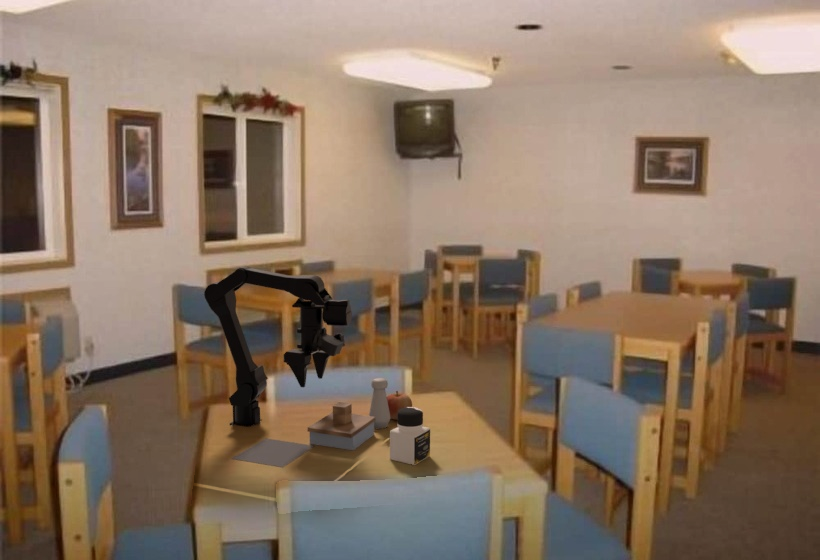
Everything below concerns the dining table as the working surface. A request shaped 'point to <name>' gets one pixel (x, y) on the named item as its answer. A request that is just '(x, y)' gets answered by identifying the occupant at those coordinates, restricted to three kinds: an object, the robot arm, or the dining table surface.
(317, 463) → the dining table surface
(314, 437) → the blue-grey open box
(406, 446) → the medicine bottle
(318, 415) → the dining table surface
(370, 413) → the salt shaker
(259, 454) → the mat
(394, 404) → the apple
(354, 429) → the lid
